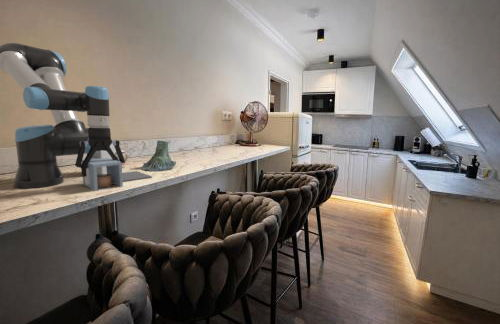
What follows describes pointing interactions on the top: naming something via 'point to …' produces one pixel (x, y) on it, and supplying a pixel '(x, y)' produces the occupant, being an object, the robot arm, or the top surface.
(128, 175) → the mat
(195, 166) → the top surface
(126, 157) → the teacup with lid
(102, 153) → the supplement box
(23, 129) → the robot arm
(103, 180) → the bowl
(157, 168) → the tree stump
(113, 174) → the blue-grey hollow block
